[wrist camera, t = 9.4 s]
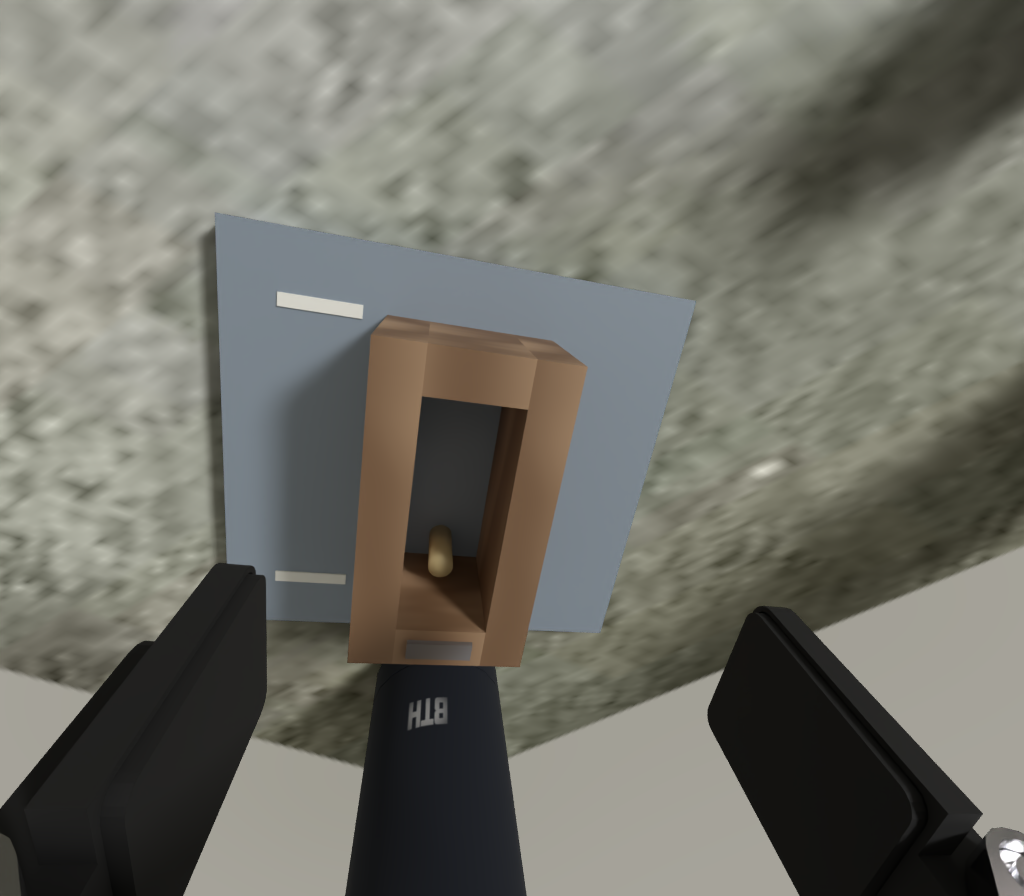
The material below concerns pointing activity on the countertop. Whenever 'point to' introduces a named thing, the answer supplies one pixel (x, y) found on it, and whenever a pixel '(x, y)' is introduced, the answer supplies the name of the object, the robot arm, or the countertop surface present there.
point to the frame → (509, 502)
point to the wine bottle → (436, 789)
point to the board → (443, 423)
